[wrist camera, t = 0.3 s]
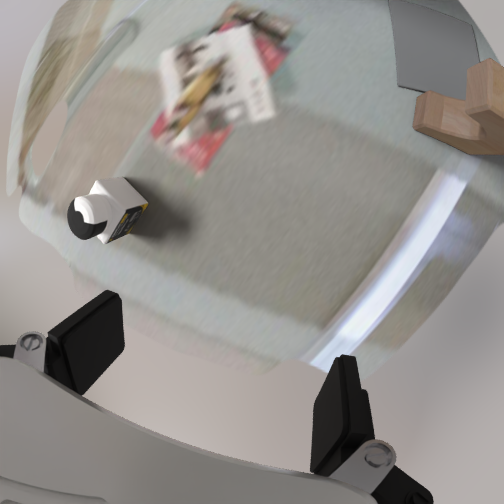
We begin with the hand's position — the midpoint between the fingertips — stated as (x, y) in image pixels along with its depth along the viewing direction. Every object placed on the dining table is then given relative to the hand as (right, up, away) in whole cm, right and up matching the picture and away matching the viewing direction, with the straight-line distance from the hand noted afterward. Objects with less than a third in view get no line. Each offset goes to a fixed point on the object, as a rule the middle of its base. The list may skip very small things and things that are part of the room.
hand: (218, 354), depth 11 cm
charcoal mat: (+30, +35, +16) cm, 49 cm away
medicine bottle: (-20, +12, +33) cm, 41 cm away
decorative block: (+30, +23, +21) cm, 43 cm away
